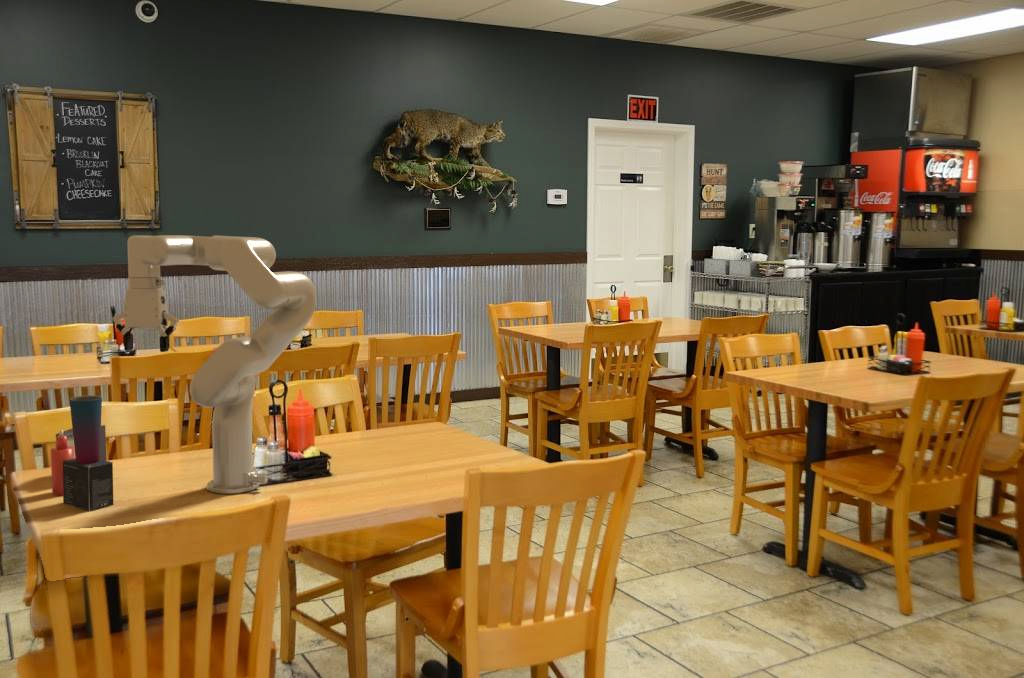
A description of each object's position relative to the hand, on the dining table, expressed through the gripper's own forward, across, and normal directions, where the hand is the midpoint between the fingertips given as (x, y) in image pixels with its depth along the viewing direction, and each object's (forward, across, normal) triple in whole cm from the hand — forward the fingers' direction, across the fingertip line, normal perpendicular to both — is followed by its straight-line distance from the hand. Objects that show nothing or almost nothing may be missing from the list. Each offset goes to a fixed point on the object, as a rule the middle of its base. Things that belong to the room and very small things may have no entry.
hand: (146, 350), depth 227 cm
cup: (+23, +2, +24) cm, 33 cm away
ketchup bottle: (+33, +13, +17) cm, 40 cm away
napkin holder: (+33, +17, +3) cm, 38 cm away
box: (+34, +2, +24) cm, 41 cm away
